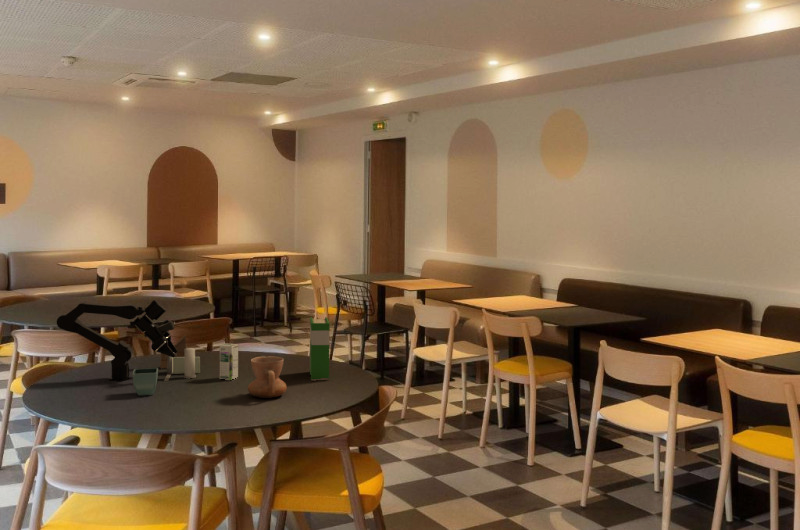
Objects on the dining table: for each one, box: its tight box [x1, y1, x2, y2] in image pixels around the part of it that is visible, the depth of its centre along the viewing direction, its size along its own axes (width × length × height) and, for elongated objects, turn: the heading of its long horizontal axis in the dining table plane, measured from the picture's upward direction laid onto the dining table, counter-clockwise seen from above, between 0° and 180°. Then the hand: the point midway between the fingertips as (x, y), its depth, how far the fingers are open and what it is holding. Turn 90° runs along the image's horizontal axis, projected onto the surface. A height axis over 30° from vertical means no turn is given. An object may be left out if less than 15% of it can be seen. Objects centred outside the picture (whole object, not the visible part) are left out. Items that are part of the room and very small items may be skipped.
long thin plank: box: [163, 355, 173, 382], centre depth 314 cm, size 18×2×8 cm, turn 11°
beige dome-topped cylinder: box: [183, 347, 197, 380], centre depth 312 cm, size 5×5×12 cm
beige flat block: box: [172, 356, 201, 375], centre depth 319 cm, size 11×2×7 cm, turn 101°
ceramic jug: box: [247, 355, 287, 399], centre depth 282 cm, size 18×14×14 cm
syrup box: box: [219, 343, 239, 381], centre depth 310 cm, size 6×6×14 cm
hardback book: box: [309, 316, 330, 380], centre depth 317 cm, size 18×7×24 cm, turn 9°
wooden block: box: [159, 334, 187, 370], centre depth 330 cm, size 4×11×18 cm, turn 111°
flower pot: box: [131, 367, 159, 396], centre depth 283 cm, size 9×9×9 cm
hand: (175, 354), depth 310 cm, fingers open, 9 cm apart
